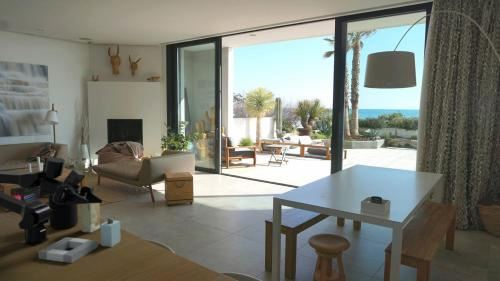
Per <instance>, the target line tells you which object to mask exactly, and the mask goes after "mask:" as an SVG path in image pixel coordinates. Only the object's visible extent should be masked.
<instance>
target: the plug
mask: <svg viewBox="0 0 500 281" xmlns="http://www.w3.org/2000/svg"><path fill="white" fill-rule="evenodd" d="M120 242H121V221H120V220H114V218H113V217H112V218H111V217H108V218H107V220H106V221H104V222H103V223H100V246H103V247H111V248H112V247H114V246H115V245H117V244H118V243H120Z"/></svg>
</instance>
